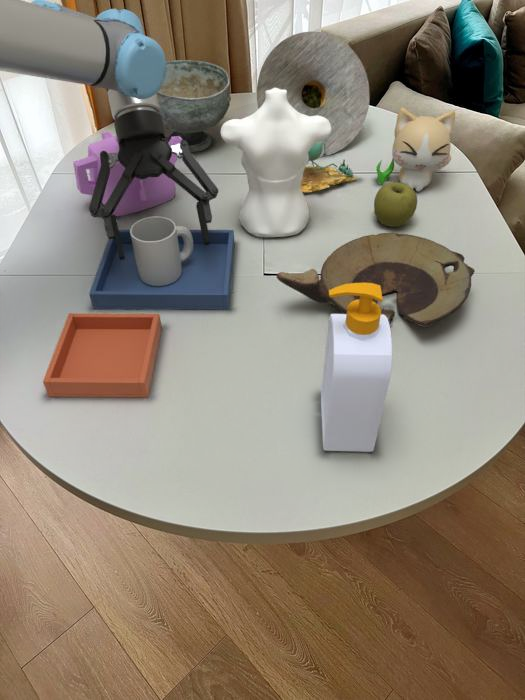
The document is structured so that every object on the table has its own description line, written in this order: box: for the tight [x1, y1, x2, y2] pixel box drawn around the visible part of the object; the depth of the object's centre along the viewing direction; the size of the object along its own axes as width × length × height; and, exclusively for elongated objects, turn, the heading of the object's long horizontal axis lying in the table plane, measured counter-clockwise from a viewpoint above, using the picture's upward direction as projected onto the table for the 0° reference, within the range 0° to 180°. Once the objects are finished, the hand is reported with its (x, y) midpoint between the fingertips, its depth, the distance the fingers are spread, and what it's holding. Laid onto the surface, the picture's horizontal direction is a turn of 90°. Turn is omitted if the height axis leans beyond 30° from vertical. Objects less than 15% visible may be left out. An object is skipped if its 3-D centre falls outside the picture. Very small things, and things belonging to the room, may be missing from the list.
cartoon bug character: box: [301, 141, 358, 194], centre depth 111 cm, size 10×18×15 cm, turn 83°
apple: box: [373, 181, 418, 228], centre depth 103 cm, size 8×8×7 cm
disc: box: [256, 31, 370, 158], centre depth 127 cm, size 25×18×25 cm
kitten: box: [376, 107, 456, 193], centre depth 110 cm, size 15×10×15 cm
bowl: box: [157, 59, 232, 153], centre depth 123 cm, size 20×19×15 cm
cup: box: [129, 215, 193, 287], centre depth 92 cm, size 7×10×9 cm
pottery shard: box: [275, 232, 476, 327], centre depth 89 cm, size 22×30×8 cm
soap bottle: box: [320, 283, 393, 453], centre depth 65 cm, size 9×7×23 cm
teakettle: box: [73, 131, 182, 217], centre depth 109 cm, size 17×17×12 cm
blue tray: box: [88, 229, 236, 310], centre depth 94 cm, size 22×18×3 cm
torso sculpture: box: [219, 88, 331, 238], centre depth 96 cm, size 18×10×25 cm, turn 95°
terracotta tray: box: [42, 312, 163, 398], centre depth 80 cm, size 14×14×3 cm
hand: (165, 251), depth 89 cm, fingers open, 13 cm apart
